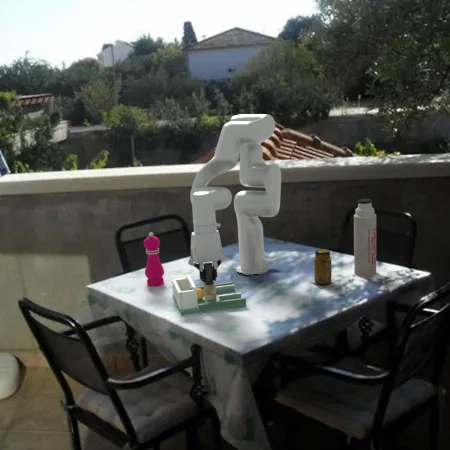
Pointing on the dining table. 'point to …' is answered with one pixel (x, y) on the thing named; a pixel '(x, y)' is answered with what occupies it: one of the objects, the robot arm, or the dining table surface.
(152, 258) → the pepper mill
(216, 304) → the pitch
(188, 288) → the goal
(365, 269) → the thermos bottle
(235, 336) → the dining table surface
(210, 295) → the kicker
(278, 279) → the dining table surface
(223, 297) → the kicker track
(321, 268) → the condiment
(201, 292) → the ball
